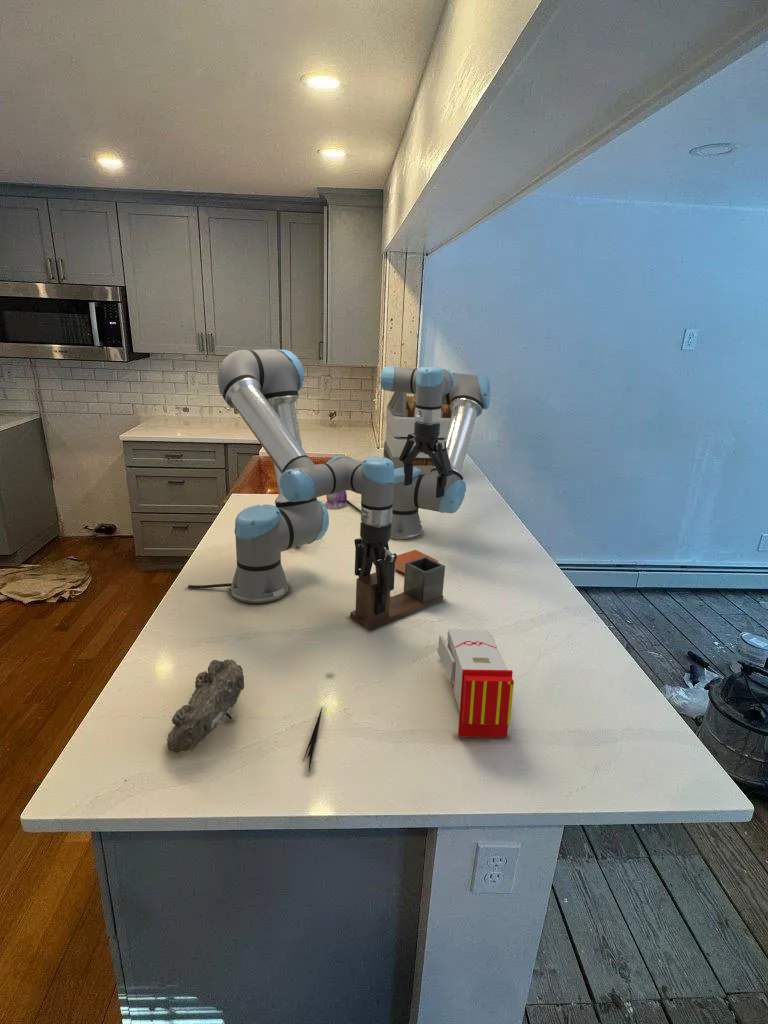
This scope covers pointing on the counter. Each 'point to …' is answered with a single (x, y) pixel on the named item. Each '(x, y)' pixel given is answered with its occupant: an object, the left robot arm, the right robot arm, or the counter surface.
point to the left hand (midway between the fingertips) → (372, 607)
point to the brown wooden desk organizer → (418, 594)
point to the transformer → (408, 428)
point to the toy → (478, 682)
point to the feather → (313, 740)
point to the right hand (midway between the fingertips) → (423, 490)
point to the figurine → (336, 500)
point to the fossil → (206, 705)
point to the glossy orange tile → (408, 559)
